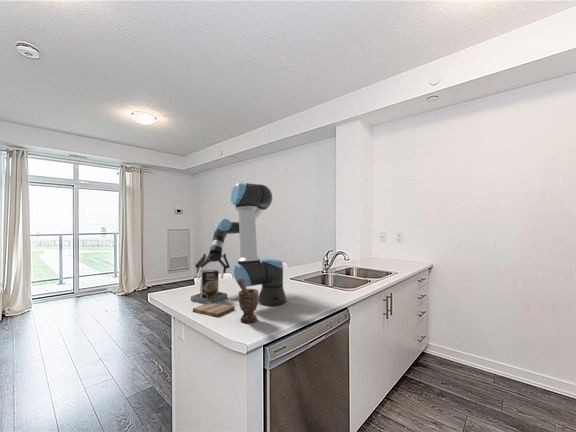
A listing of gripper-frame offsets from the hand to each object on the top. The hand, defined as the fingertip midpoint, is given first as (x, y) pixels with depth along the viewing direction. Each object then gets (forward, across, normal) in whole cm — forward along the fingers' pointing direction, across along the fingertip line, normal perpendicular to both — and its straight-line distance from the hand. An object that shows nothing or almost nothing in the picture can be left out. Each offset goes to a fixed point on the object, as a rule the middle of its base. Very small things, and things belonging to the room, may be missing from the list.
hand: (210, 277), depth 157 cm
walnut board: (+24, -8, +8) cm, 27 cm away
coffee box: (+11, -1, -5) cm, 12 cm away
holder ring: (+11, -1, -5) cm, 12 cm away
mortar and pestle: (+35, -27, +19) cm, 49 cm away
